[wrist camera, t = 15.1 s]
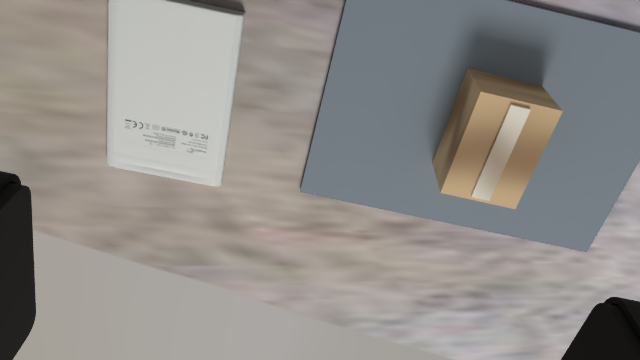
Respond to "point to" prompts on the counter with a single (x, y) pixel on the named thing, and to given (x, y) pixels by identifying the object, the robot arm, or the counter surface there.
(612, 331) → the robot arm
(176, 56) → the external hard drive
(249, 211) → the counter surface
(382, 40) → the mat
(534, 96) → the taped cardboard box
